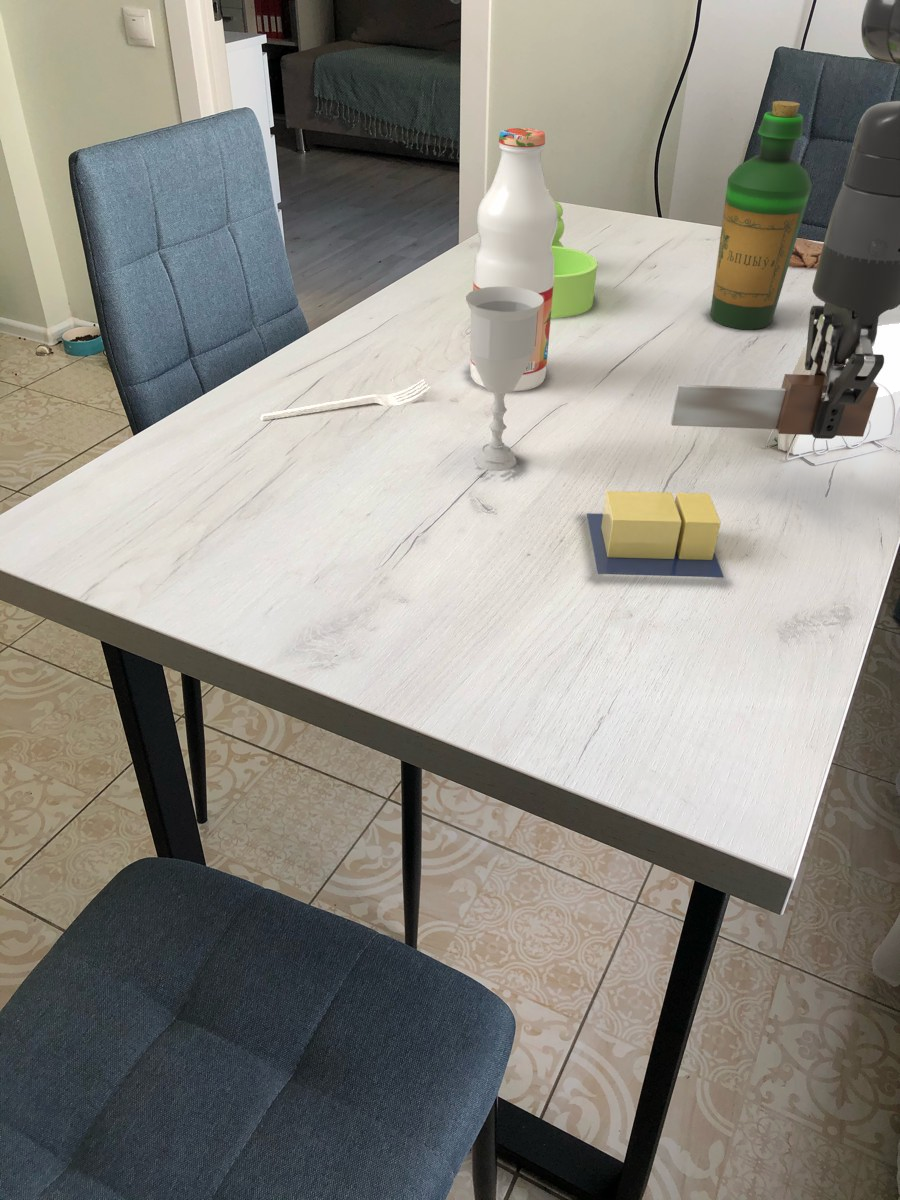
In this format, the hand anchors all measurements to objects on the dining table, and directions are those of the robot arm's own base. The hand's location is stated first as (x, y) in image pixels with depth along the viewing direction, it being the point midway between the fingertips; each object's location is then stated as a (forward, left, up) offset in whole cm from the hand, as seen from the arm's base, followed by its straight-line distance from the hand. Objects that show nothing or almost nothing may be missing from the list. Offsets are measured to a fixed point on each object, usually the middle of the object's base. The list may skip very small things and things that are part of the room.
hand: (817, 428), depth 90 cm
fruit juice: (+28, -28, -8) cm, 41 cm away
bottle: (-6, -50, -8) cm, 51 cm away
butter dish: (+16, +10, -8) cm, 21 cm away
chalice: (+30, -5, -8) cm, 32 cm away
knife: (+5, 0, 0) cm, 5 cm away
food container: (+22, -61, -8) cm, 65 cm away
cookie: (-23, -79, -8) cm, 83 cm away
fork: (+47, -18, -8) cm, 51 cm away
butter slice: (+13, +10, -7) cm, 18 cm away
